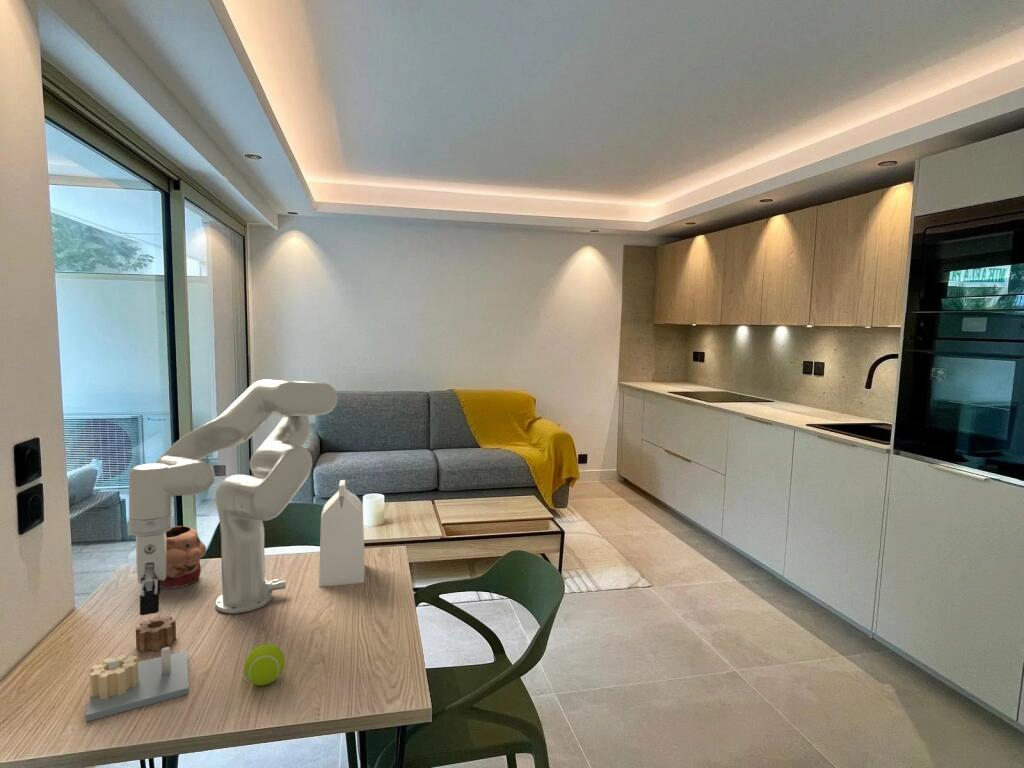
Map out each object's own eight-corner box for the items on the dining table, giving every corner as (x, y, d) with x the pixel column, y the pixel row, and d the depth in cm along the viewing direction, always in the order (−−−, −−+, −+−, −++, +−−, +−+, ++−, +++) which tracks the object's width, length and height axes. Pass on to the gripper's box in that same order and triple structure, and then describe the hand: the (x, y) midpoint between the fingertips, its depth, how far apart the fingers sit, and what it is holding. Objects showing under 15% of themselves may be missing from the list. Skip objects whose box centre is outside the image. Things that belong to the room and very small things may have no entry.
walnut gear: (176, 630, 123) (175, 613, 123) (176, 645, 117) (175, 627, 117) (137, 639, 120) (136, 621, 119) (135, 655, 114) (134, 636, 113)
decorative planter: (123, 585, 145) (121, 533, 144) (164, 567, 157) (163, 518, 156) (183, 596, 139) (181, 542, 138) (221, 577, 151) (220, 527, 150)
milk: (322, 568, 158) (321, 478, 156) (364, 564, 161) (364, 476, 159) (318, 586, 146) (317, 489, 144) (364, 582, 149) (363, 487, 147)
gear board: (187, 656, 114) (186, 627, 113) (188, 693, 102) (187, 662, 101) (96, 678, 106) (94, 647, 105) (85, 721, 94) (84, 688, 93)
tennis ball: (246, 675, 108) (245, 640, 107) (285, 668, 110) (284, 634, 110) (243, 697, 101) (242, 660, 101) (284, 689, 104) (284, 653, 103)
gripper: (171, 533, 111) (171, 617, 111) (172, 511, 125) (171, 585, 126) (125, 538, 107) (125, 625, 108) (131, 515, 122) (131, 591, 122)
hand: (150, 603), depth 117 cm, fingers open, 9 cm apart
